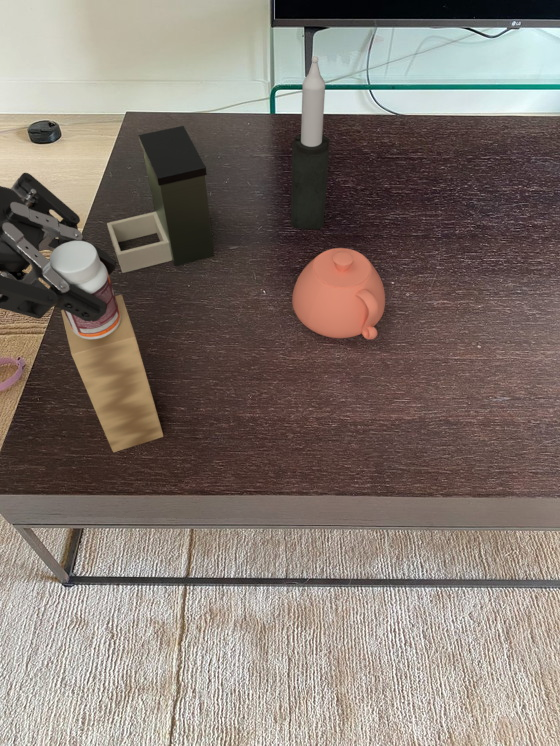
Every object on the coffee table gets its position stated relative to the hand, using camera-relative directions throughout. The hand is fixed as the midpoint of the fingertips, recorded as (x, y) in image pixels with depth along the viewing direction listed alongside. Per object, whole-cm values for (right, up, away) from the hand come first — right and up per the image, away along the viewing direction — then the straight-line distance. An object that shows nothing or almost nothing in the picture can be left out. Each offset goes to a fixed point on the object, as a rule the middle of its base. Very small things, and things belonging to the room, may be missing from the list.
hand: (106, 291), depth 56 cm
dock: (-5, +11, +36) cm, 38 cm away
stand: (-2, -14, +18) cm, 22 cm away
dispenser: (+1, +13, +38) cm, 40 cm away
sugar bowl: (+24, 0, +28) cm, 37 cm away
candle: (+20, +17, +41) cm, 49 cm away
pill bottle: (-2, -3, +3) cm, 5 cm away
